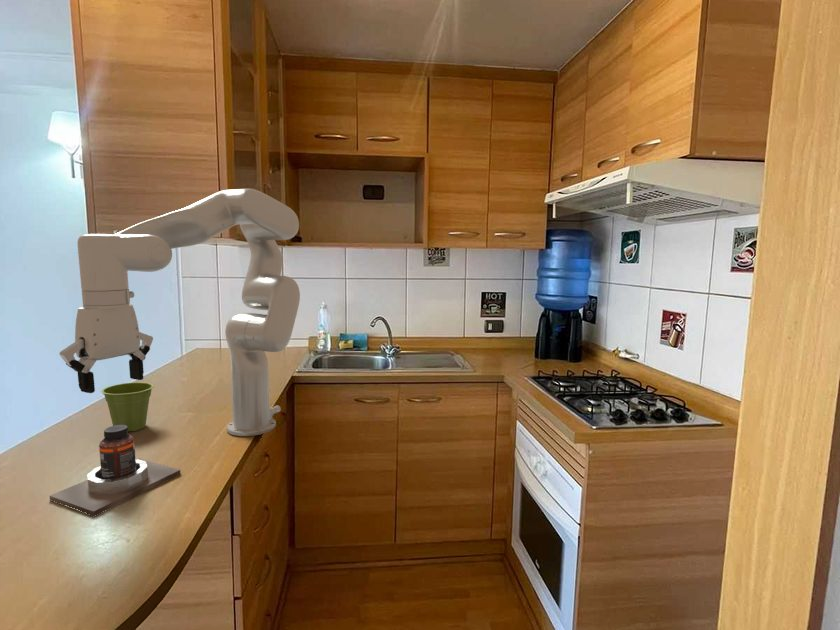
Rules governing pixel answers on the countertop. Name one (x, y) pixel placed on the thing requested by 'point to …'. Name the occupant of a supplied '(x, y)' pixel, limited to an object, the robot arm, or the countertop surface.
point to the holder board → (96, 504)
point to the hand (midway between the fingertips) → (113, 385)
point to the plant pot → (128, 404)
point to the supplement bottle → (117, 453)
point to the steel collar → (117, 480)
